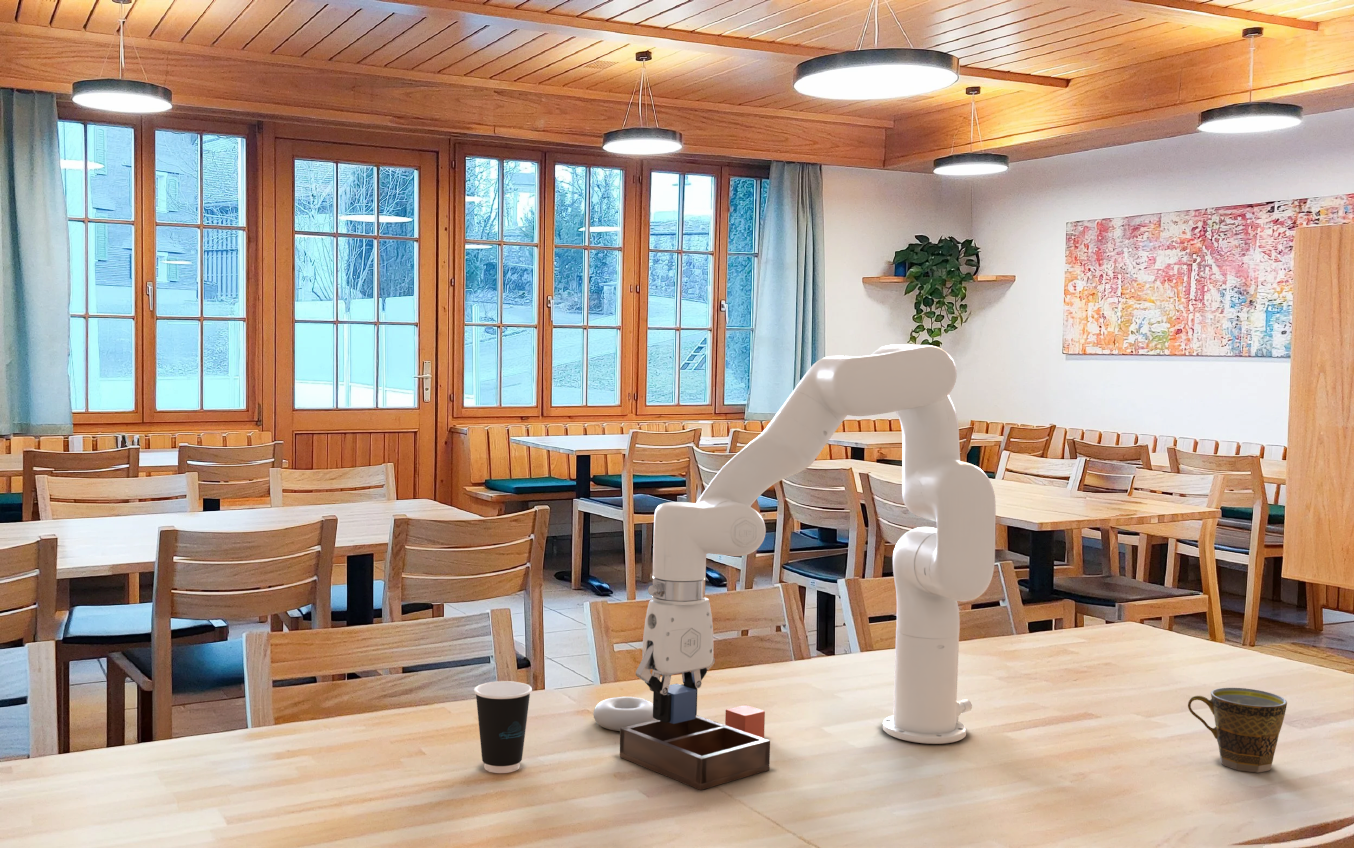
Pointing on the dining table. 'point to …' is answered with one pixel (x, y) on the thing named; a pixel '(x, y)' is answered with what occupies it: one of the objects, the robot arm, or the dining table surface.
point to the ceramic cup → (1245, 726)
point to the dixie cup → (502, 723)
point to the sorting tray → (695, 751)
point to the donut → (623, 712)
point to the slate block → (682, 703)
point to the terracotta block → (746, 719)
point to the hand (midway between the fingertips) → (674, 715)
